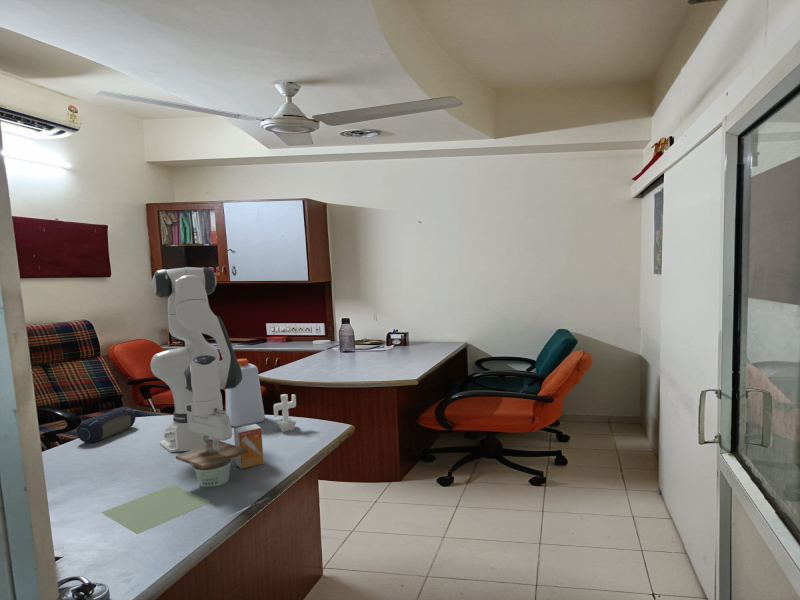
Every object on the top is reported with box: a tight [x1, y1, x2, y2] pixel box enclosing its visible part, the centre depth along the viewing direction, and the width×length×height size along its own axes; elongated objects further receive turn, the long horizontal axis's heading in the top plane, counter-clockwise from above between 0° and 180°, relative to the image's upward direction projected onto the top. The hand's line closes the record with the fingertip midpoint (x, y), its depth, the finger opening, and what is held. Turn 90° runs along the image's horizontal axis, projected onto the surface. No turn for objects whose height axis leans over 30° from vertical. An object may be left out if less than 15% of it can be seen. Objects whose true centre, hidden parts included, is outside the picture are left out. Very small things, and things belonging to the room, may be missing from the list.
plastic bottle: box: [225, 358, 265, 428], centre depth 238 cm, size 15×15×28 cm
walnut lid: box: [175, 439, 248, 469], centre depth 172 cm, size 16×16×5 cm
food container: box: [192, 458, 233, 488], centre depth 173 cm, size 12×12×6 cm
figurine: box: [273, 393, 297, 433], centre depth 223 cm, size 7×9×15 cm
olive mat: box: [101, 484, 212, 535], centre depth 156 cm, size 22×22×1 cm
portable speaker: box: [76, 406, 136, 444], centre depth 229 cm, size 25×10×10 cm, turn 162°
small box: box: [233, 423, 265, 470], centre depth 187 cm, size 8×6×13 cm
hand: (211, 448), depth 172 cm, fingers closed on walnut lid, 3 cm apart
